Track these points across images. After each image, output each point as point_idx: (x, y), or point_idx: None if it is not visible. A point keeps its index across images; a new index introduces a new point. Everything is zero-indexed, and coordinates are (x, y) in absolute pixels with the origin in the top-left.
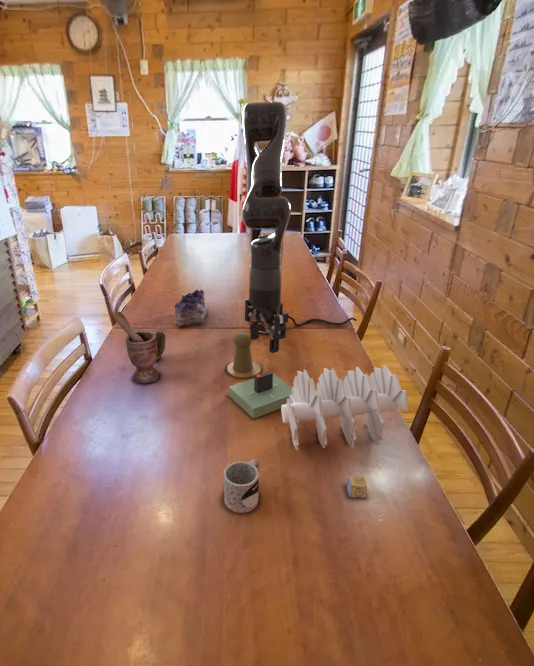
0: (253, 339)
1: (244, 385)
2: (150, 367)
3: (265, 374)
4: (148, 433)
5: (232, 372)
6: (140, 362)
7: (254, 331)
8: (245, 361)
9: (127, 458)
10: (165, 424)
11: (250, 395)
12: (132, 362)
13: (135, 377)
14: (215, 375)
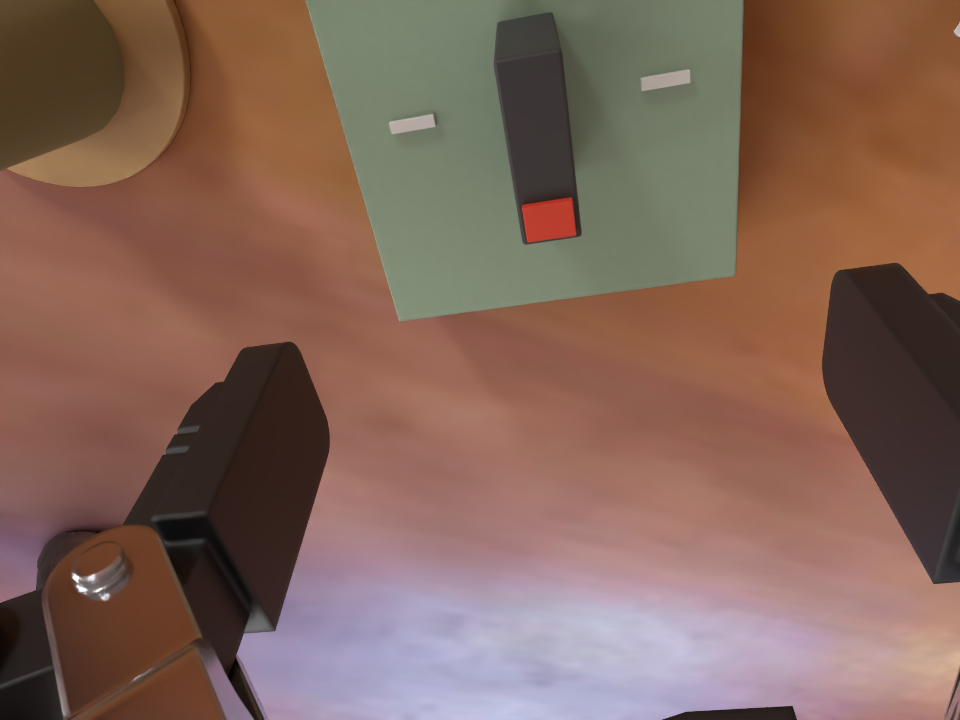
0: (321, 419)
1: (420, 219)
2: None
3: (547, 138)
4: (566, 630)
5: (108, 165)
6: None
7: (279, 508)
8: (54, 88)
9: (671, 690)
10: (536, 580)
11: None
12: None
13: None
14: (121, 274)
